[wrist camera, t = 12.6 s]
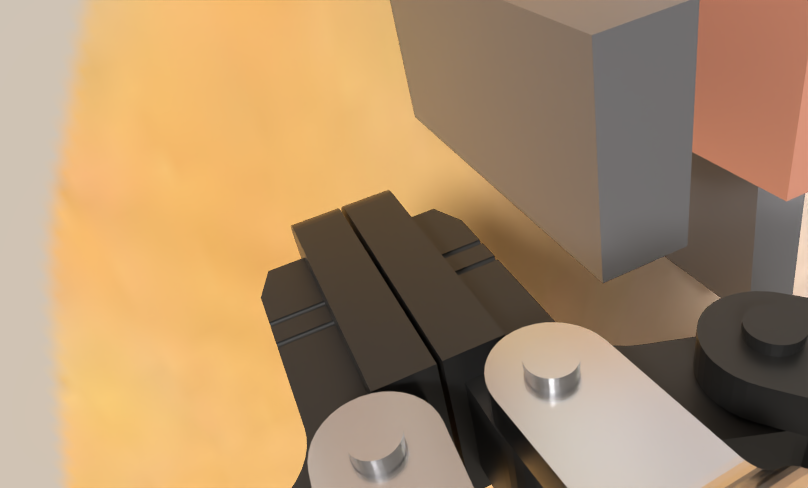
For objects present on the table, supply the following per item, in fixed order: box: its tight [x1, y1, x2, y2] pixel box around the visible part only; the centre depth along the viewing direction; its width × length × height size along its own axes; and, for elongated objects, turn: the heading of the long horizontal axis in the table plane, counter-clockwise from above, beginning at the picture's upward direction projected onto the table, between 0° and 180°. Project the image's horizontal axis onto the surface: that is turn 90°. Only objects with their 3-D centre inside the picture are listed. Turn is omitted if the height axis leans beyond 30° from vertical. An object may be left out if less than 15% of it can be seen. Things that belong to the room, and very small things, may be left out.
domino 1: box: [390, 0, 700, 283], centre depth 16 cm, size 5×2×10 cm, turn 12°
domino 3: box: [665, 152, 805, 298], centre depth 24 cm, size 5×2×10 cm
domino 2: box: [692, 0, 808, 201], centre depth 17 cm, size 5×2×10 cm, turn 12°
